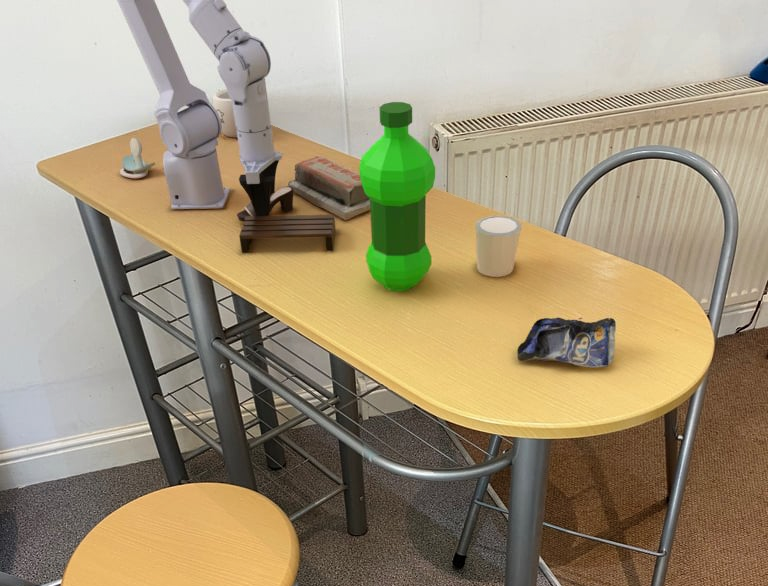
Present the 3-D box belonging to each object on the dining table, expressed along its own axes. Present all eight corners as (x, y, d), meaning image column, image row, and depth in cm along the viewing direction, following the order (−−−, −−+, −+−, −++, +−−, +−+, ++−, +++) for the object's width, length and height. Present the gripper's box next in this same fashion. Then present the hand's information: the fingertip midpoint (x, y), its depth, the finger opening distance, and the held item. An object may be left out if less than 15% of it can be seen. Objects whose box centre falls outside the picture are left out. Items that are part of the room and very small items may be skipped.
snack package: (563, 394, 96) (627, 359, 101) (563, 349, 92) (630, 314, 97) (500, 365, 105) (562, 333, 109) (497, 321, 101) (561, 291, 105)
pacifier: (137, 183, 147) (161, 172, 150) (127, 150, 142) (152, 139, 145) (114, 174, 150) (138, 163, 153) (103, 142, 145) (128, 131, 148)
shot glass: (521, 260, 121) (525, 217, 116) (512, 281, 116) (516, 237, 111) (479, 254, 122) (481, 212, 117) (468, 275, 118) (470, 232, 113)
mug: (210, 134, 163) (202, 94, 158) (241, 123, 167) (235, 84, 162) (243, 148, 157) (237, 107, 151) (275, 136, 161) (270, 96, 155)
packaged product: (283, 163, 138) (327, 149, 143) (286, 190, 142) (329, 175, 146) (343, 194, 128) (388, 177, 133) (345, 222, 132) (389, 205, 136)
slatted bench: (242, 252, 125) (239, 235, 123) (248, 233, 130) (245, 216, 128) (332, 251, 125) (331, 233, 123) (335, 231, 130) (334, 214, 128)
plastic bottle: (423, 262, 121) (425, 90, 103) (438, 296, 114) (442, 117, 96) (361, 269, 120) (352, 97, 102) (372, 303, 113) (364, 125, 95)
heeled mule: (232, 218, 134) (229, 196, 132) (289, 203, 138) (286, 181, 135) (242, 228, 132) (238, 206, 129) (300, 212, 135) (297, 190, 132)
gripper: (272, 142, 119) (283, 226, 128) (283, 110, 129) (292, 190, 138) (227, 143, 119) (241, 227, 129) (241, 111, 129) (254, 191, 139)
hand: (265, 208), depth 134 cm, fingers closed on heeled mule, 5 cm apart
